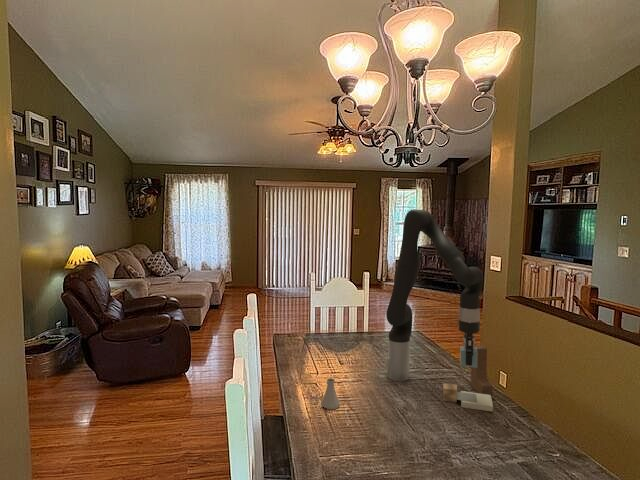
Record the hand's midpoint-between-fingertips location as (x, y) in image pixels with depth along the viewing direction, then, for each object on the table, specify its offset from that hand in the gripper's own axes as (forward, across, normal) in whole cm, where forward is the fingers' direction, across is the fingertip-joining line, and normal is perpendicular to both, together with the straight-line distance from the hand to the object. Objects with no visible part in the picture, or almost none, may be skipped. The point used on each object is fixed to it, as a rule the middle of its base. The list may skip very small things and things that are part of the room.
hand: (468, 361), depth 154 cm
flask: (+16, +20, -50) cm, 56 cm away
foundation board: (+16, 0, +3) cm, 16 cm away
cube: (+1, 0, 0) cm, 1 cm away
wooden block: (+16, -12, +6) cm, 21 cm away
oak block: (+16, -1, -7) cm, 17 cm away
